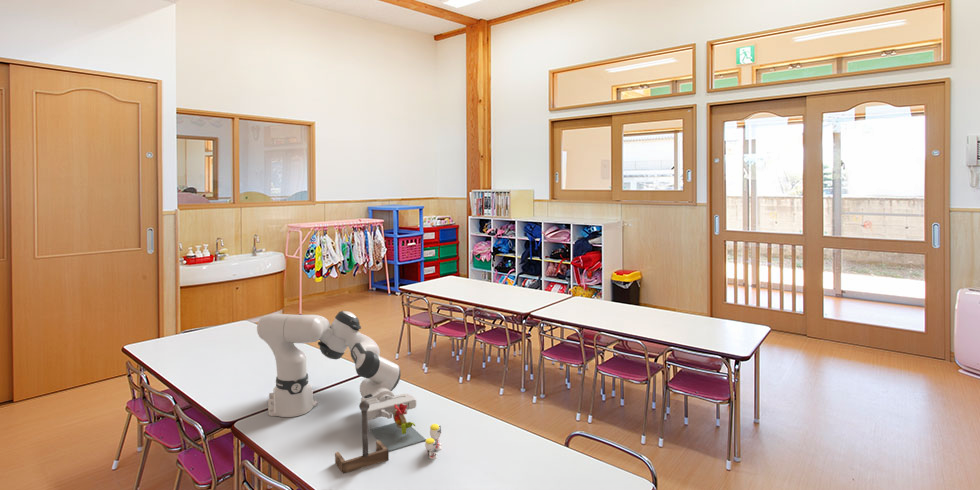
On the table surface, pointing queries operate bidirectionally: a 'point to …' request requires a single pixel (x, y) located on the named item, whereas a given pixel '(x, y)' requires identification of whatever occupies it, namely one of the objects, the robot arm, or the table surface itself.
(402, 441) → the mat
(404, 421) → the bird rattle
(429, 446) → the toy figures
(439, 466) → the table surface
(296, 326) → the robot arm
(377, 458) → the wooden lever stand
